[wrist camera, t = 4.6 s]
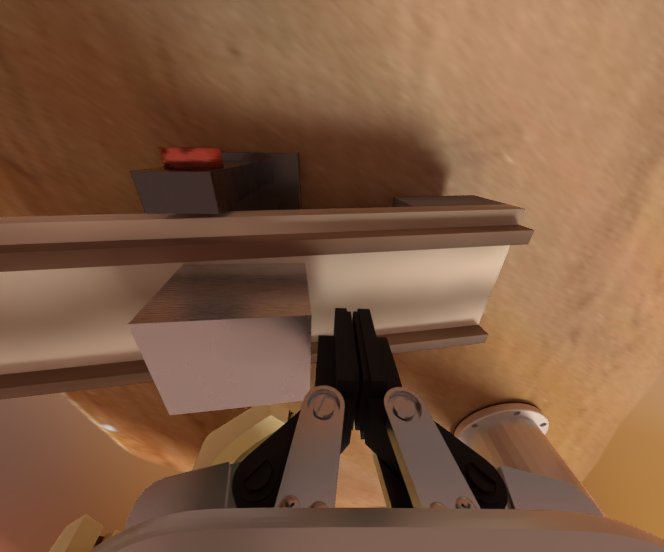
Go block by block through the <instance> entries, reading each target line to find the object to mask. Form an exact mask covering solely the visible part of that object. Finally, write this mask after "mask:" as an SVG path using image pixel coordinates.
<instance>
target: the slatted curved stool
mask: <svg viewBox="0 0 664 552" xmlns="http://www.w3.org/2000/svg"><path fill="white" fill-rule="evenodd" d="M294 415H295V413H293V414H291V415H289V410H288V409H287V408H285V407H283V406H282V405H280V404H270V405H261V406H253V407H251V408H250V409H248V410H246V411H245V412H243V413H242V414H240V415H238V416H237V417H235V418H233V419H232V420H230V421H229V422H227V423H225V424H224V425H222V426H221V427H219V428H217V429H216V430H214V431H213V432H211V433H210V434H208V435H207V437H206V438H205V440H204V442H203V444H202V447H201V449H200V452H199V454H198V457H197V460H196V462H195V465H194V467H193V470H197V469H202V468H206V467H210V466H214V465H218V464H222V463H226V462H230V464H233V463H237V462H241V461H243V460H244V459H245V457H246V456H248V455H249V454H250V453H251V452H252V451H253V450H255V449H256V448H257V447H258V446H259V445H260V444H262V443H263V442H264V441H265V440H266V439H267V438H269V437H270V436H271V435H272V434H273V433H274V432H276V431H277V430H278V429H279V428H280V427H281V426H283V425H284V424H285V423H286V422H287V421H288V420H290V419H291V418H292V417H293V416H294ZM193 470H192V471H193ZM103 527H104V526H102V525H101V524H99V523H98V522H96V521H95V520H93V519H92V518H90V517H89V516H88V515H87V514H86V515H84V516H83V517H81V518H79V519H78V520H76V521H74V522H73V523H71V524H69V525H68V526H66V528H65V529H64V531H63V532H62V534H61V535H60V536H59V538H58V539H57V541H56V543H55V544H54V545H53V547H52V548H51V550H50V551H49V552H88V551H89V550H91V549H92V548H94V547H95V546H97V545H99V544H100V543H102V542H103V541H105V540H107V539H108V538H110V537H112V536H114V535H116V534H118V533H120V532H121V531H117V530H113V531H112V532H110V533H108V534H106V535H104V536H99V534H100V532H101V531H102V529H103Z"/></svg>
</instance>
